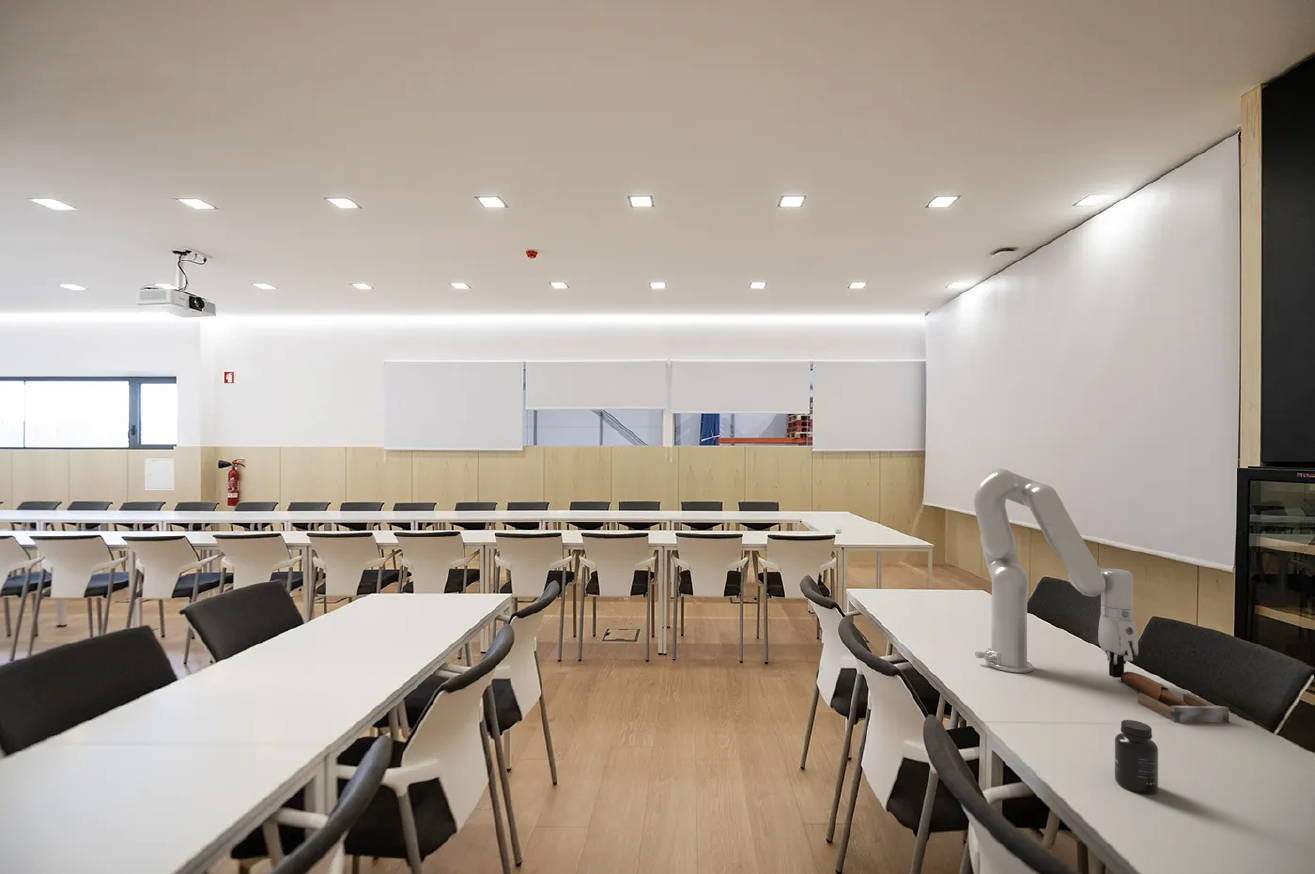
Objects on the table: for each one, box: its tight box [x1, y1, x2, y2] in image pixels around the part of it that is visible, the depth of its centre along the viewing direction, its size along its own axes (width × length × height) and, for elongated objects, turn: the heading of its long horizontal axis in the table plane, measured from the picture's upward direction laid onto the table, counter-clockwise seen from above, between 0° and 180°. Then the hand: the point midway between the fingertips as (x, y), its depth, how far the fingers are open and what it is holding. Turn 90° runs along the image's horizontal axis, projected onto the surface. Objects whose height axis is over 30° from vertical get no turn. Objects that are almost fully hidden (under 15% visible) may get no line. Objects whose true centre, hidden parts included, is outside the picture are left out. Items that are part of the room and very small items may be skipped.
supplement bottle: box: [1114, 719, 1159, 795], centre depth 124 cm, size 7×7×12 cm
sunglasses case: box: [1119, 671, 1189, 707], centre depth 171 cm, size 18×7×7 cm
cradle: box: [1137, 692, 1230, 723], centre depth 160 cm, size 13×12×4 cm
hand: (1116, 676), depth 182 cm, fingers closed
